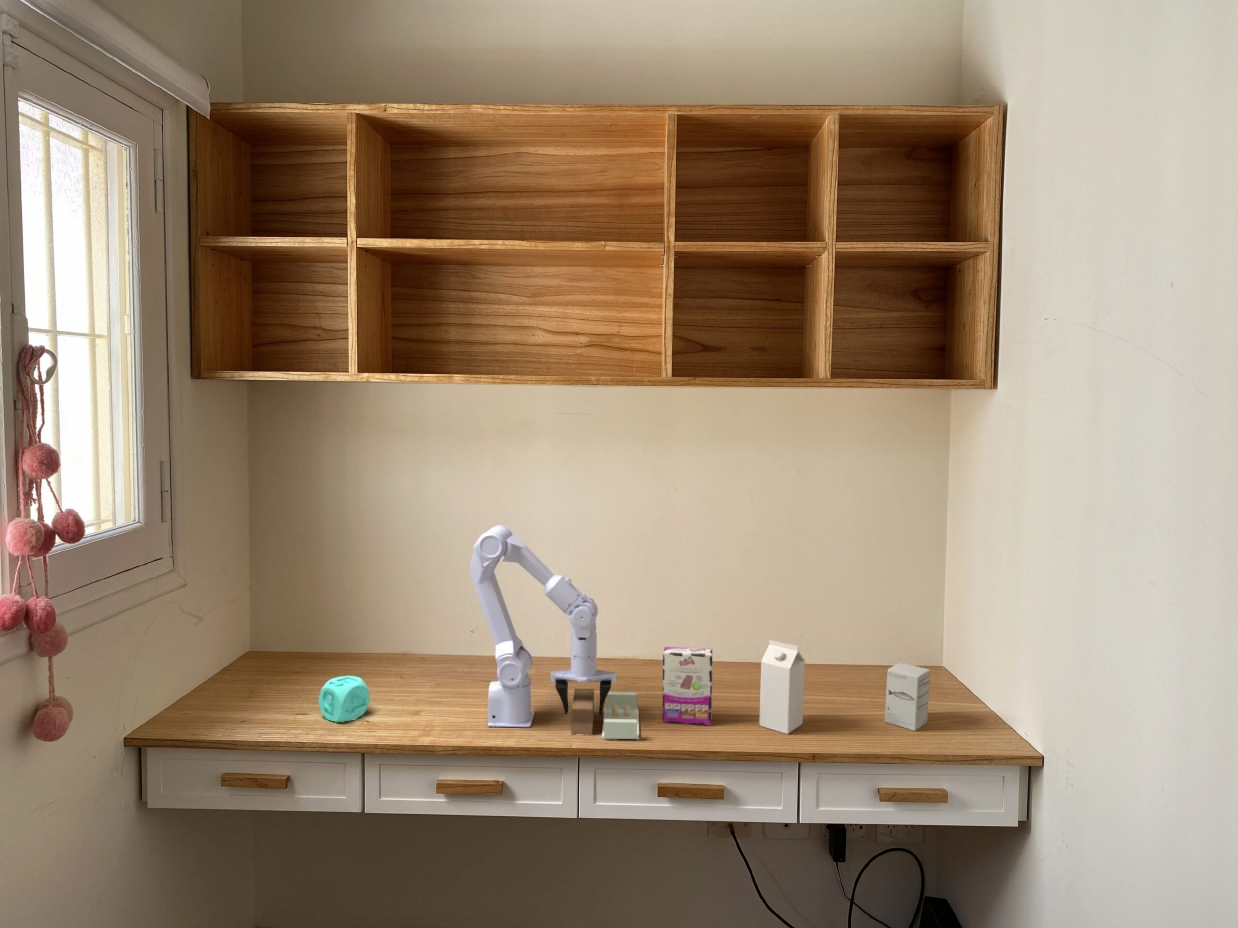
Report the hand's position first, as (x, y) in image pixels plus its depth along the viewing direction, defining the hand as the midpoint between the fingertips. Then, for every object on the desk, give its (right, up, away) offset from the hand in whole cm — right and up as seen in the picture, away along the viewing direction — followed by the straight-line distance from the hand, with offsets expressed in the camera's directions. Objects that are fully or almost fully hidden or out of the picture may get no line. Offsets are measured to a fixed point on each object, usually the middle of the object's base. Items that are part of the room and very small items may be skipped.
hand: (583, 712), depth 184 cm
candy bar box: (+23, -3, +3) cm, 24 cm away
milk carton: (+44, -3, +1) cm, 45 cm away
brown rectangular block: (0, -3, 0) cm, 3 cm away
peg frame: (+8, -3, 0) cm, 9 cm away
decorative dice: (-55, -2, +3) cm, 55 cm away
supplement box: (+73, -3, +3) cm, 74 cm away
